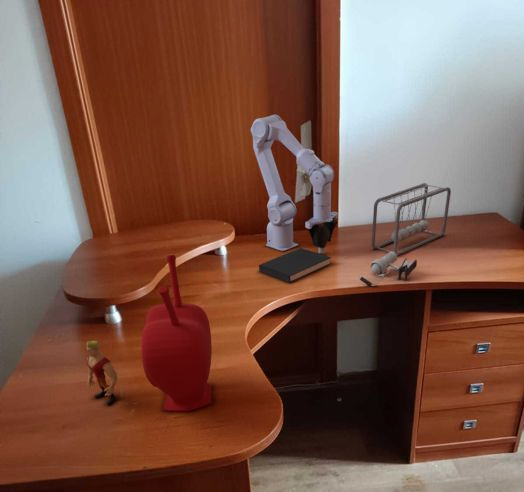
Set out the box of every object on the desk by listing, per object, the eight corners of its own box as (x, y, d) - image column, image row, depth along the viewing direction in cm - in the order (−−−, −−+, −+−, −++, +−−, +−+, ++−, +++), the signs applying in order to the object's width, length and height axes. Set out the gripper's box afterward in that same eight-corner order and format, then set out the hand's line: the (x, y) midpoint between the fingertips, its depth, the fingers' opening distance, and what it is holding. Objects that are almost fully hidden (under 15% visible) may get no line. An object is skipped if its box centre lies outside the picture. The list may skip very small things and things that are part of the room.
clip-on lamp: (383, 300, 152) (419, 270, 159) (383, 283, 147) (420, 253, 155) (352, 286, 159) (388, 258, 166) (352, 269, 154) (389, 241, 162)
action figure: (86, 395, 114) (69, 337, 106) (100, 387, 116) (84, 330, 108) (112, 410, 109) (97, 351, 101) (126, 402, 111) (111, 343, 103)
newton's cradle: (421, 228, 195) (426, 181, 185) (445, 234, 188) (452, 186, 178) (370, 250, 179) (373, 199, 169) (394, 257, 172) (399, 205, 162)
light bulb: (332, 252, 180) (332, 224, 174) (326, 257, 175) (327, 229, 170) (316, 250, 182) (317, 223, 176) (311, 256, 177) (311, 228, 172)
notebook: (259, 272, 168) (258, 264, 167) (300, 254, 179) (300, 247, 178) (289, 283, 159) (289, 275, 158) (331, 264, 170) (331, 257, 169)
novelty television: (163, 372, 120) (140, 252, 104) (217, 367, 120) (202, 247, 105) (153, 430, 102) (123, 295, 87) (217, 424, 103) (199, 289, 87)
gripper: (316, 211, 163) (316, 251, 170) (345, 201, 171) (344, 240, 178) (300, 207, 167) (301, 247, 174) (329, 197, 175) (328, 235, 182)
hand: (321, 243), depth 176 cm, fingers closed on light bulb, 5 cm apart
